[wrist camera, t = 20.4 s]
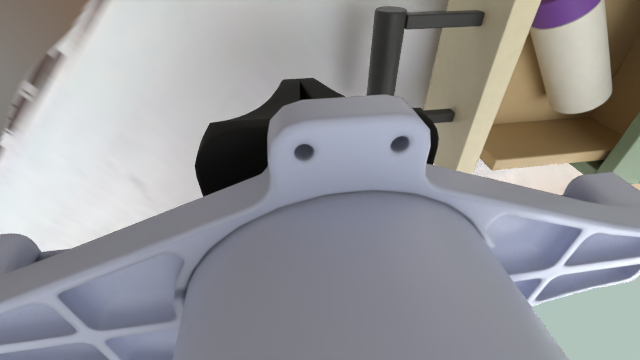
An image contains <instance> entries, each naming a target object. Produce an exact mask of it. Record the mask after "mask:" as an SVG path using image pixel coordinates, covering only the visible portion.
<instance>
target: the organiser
mask: <svg viewBox="0 0 640 360" xmlns="http://www.w3.org/2000/svg"><path fill="white" fill-rule="evenodd" d="M569 164H570V165H572V166H573V167H574V168H576V169H577V170H578V171H580V172H581V173H582V174H584V175H587V174H597V173H606V172H613V173H615V174H616V175H618V176H619V177H620V178H622V179H623V180H625V181H626V182H628V183H629V184H639V183H640V112H639V113H638V115H637V116H636V117H635V119H634V120H633V122H632V123H631V124H630V126H629V127H628V129H627V130H626V131H625V133H624V134H623V136H622V137H621V138H620V140H619V141H618V143H617V144H616V145H615V147H614V148H613V150H612V151H611V152H610V154H609V155H608V157H607V158H606V159H605V160H596V161H585V162H575V163H569Z"/></svg>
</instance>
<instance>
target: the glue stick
mask: <svg viewBox="0 0 640 360" xmlns="http://www.w3.org/2000/svg"><path fill="white" fill-rule="evenodd" d="M530 33H531V37H532V41H533V45H534V48H535V52H536V56H537V60H538V64H539V67H540V71H541V75H542V79H543V83H544V87H545V90H546V94H547V98H548V102H549V105H550V107H551V108H552V109H553V110H555V111H557V112H560V113H564V114H576V113H582V112H586V111H589V110H592V109H594V108H597V107H598V106H600V105H602V104H603V103H604V102H606V101H607V100H608V98H609V97H610V96H611V94H612V89H613V88H612V77H611V66H610V55H609V44H608V33H607V22H606V11H605V0H541V2H540V5H539V7H538V10H537V13H536V15H535V18H534V20H533V23H532V25H531V28H530Z"/></svg>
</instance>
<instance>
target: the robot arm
mask: <svg viewBox="0 0 640 360" xmlns="http://www.w3.org/2000/svg"><path fill="white" fill-rule="evenodd" d="M438 142H439V136H438V130H437V128H436V126H435V125H434V123H433V121H432V120H431V119H430V118H429V117H428V116H427V115H426V113H425V112H424V111H423V110H422V109H421V108H411V107H410V105H409V104H408V103H407V102H406V101H405V100H404V99H403V98H400V97H395V96H390V95H370V96H355V97H345V96H343V95H341V94H339V93H337V92H335V91H333V90H332V89H330V88H328V87H327V86H325V85H324V84H322V83H321V82H319V81H317V80H316V79H314V78H302V79H285V80H283V81H282V82H281V83H280V85H279V87H278V89H277V90H276V91H275V93H274V94H273V95H272V97H271V98H270V99H269V100H268V101H267V102H266V103H264V104H263V105H262V106H260V107H259V108H257V109H256V110H254V111H252V112H250V113H248V114H246V115H243V116H240V117H237V118H234V119H230V120H226V121H220V122H214V123H210V124H209V126H208V128H207V130H206V132H205V134H204V136H203V138H202V140H201V143H200V146H199V150H198V153H197V158H196V163H195V170H196V176H197V179H198V182H199V185H200V188H201V191H202V194H203V197H202V198H199V199H197V200H194V201H191V202H189V203H186V204H184V205H181V206H179V207H176V208H174V209H171V210H169V211H166V212H164V213H161V214H158V215H156V216H153V217H151V218H148V219H146V220H143V221H141V222H138V223H136V224H133V225H131V226H128V227H125V228H123V229H120V230H118V231H115V232H113V233H110V234H108V235H105V236H102V237H100V238H97V239H95V240H92V241H90V242H87V243H85V244H82V245H80V246H77V247H74V248H72V249H65V250H56V251H47V252H41V251H40V249H39V248H38V246H37V245H36V244H35V243H34V242H33V241H32V240H31V239H30V238H28V237H27V236H24V235H21V234H1V235H0V360H569V359H568V357H567V356H566V355H565V353H564V352H563V350H562V349H561V348H560V346H559V345H558V344H557V342H556V341H555V339H554V338H553V336H552V335H551V334H550V332H549V331H548V329H547V328H546V327H545V325H544V324H543V322H542V321H541V320H540V318H539V317H538V315H537V314H536V313H535V311H534V310H533V308H532V307H531V306H533V305H537V304H540V303H543V302H547V301H550V300H553V299H557V298H560V297H564V296H567V295H571V294H575V293H578V292H582V291H586V290H590V289H595V288H599V287H604V286H609V285H615V284H621V283H627V282H631V281H633V280H634V279H635V278H637V277H638V276H639V275H640V191H639V190H638V189H636V188H635V187H633V186H632V185H631V184H629V183H628V182H626V181H625V180H623V179H622V178H620V177H619V176H618V175H616V174H615V173H613V172H606V173H597V174H587V175H581V176H578V177H576V178H575V179H573V180H572V181H571V182H570V183H569V184H568V186H567V188H566V190H565V191H564V194H563V195H557V194H553V193H548V192H544V191H540V190H536V189H532V188H527V187H523V186H519V185H515V184H511V183H506V182H502V181H498V180H494V179H490V178H485V177H481V176H477V175H473V174H468V173H464V172H460V171H456V170H452V169H447V168H443V167H439V166H435V165H433V163H434V159H435V156H436V152H437V149H438Z"/></svg>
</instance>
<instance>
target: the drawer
mask: <svg viewBox="0 0 640 360" xmlns="http://www.w3.org/2000/svg"><path fill="white" fill-rule="evenodd" d="M540 2H541V0H449V1H448V5H447V10H446V11H435V12H407V10H406V9H404V8H401V7H391V6H387V7H379V8H376V10H375V16H374V26H373V36H372V47H371V57H370V67H369V78H368V88H367V96H370V95H390V96H394V92H395V86H396V79H397V73H398V66H399V60H400V54H401V47H402V41H403V34H404V28H405V29H426V28H442V31H441V36H440V40H439V45H438V49H437V53H436V58H435V62H434V67H433V71H432V75H431V80H430V84H429V89H428V93H427V97H426V102H425V106H424V110H423V111H424V112H425V113H426V115H427V116H428V117H429V118H430V119H431V120H432V121H433V123H434V125H435V126H436V128H437V130H438V136H439V142H438V149H437V152H436V156H435V159H434V164H435V165H436V166H439V167H443V168H447V169H452V170H456V171H460V172H464V173H468V174H473V172H474V170H475V167H476V165H477V162H478V160H479V158H480V159H481V160H482V161H483V162H484V163H485V164H486V165H487V166H488V167H489V168H490V169H491V170H502V169H513V168H523V167H533V166H544V165H554V164H565V163H575V162H585V161H596V160H605V159H606V158H607V157H608V155H609V154H610V152H611V151H612V150H613V148H614V147H615V145H616V144H617V143H618V141H619V140H620V138H621V137H622V136H623V134H624V133H625V131H626V130H627V129H628V127H629V126H630V124H631V123H632V122H633V120H634V119H635V117H636V116H637V115H638V113H639V112H640V0H605V11H606V22H607V33H608V44H609V55H610V66H611V77H612V88H613V89H612V94H611V96H610V97H609V98H608V100H607V101H606V102H604V103H603V104H602V105H600V106H598V107H597V108H594V109H592V110H589V111H586V112H582V113H576V114H564V113H560V112H557V111H555V110H553V109H552V108H551V107H550V105H549V102H548V98H547V94H546V90H545V87H544V83H543V79H542V75H541V71H540V67H539V64H538V60H537V56H536V52H535V48H534V45H533V41H532V37H531V33H530V28H531V25H532V23H533V20H534V18H535V15H536V13H537V10H538V7H539V5H540Z"/></svg>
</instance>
